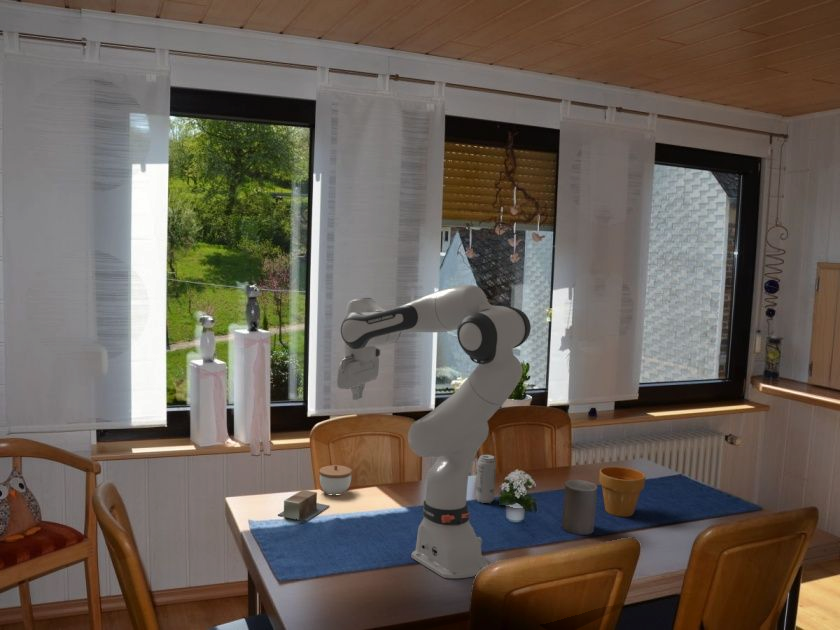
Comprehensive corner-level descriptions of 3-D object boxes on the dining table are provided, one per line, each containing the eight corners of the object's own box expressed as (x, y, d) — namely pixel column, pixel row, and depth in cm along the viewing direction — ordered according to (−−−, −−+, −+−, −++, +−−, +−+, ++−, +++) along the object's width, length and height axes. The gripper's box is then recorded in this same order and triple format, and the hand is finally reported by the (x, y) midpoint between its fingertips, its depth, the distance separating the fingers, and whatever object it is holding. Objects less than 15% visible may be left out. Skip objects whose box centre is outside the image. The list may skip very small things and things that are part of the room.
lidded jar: (356, 491, 248) (358, 463, 247) (340, 500, 238) (341, 472, 237) (329, 485, 252) (330, 458, 251) (312, 494, 243) (313, 466, 242)
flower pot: (641, 523, 230) (644, 482, 229) (594, 515, 235) (597, 476, 233) (643, 508, 244) (646, 470, 242) (599, 501, 248) (601, 464, 247)
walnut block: (298, 503, 219) (316, 492, 229) (284, 500, 220) (302, 489, 231) (298, 519, 219) (316, 508, 229) (283, 516, 221) (302, 505, 231)
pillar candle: (554, 526, 224) (558, 478, 222) (575, 519, 230) (578, 473, 229) (580, 537, 217) (584, 488, 215) (600, 530, 223) (604, 482, 221)
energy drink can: (494, 504, 241) (497, 459, 239) (475, 503, 241) (478, 458, 239) (493, 498, 247) (495, 454, 245) (475, 497, 247) (477, 453, 245)
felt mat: (306, 521, 219) (306, 520, 219) (278, 515, 223) (278, 514, 223) (329, 506, 232) (329, 505, 232) (302, 501, 236) (302, 500, 236)
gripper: (352, 358, 206) (350, 407, 207) (383, 349, 225) (381, 394, 226) (332, 356, 208) (330, 404, 209) (364, 347, 227) (362, 391, 228)
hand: (357, 399), depth 218 cm, fingers closed
